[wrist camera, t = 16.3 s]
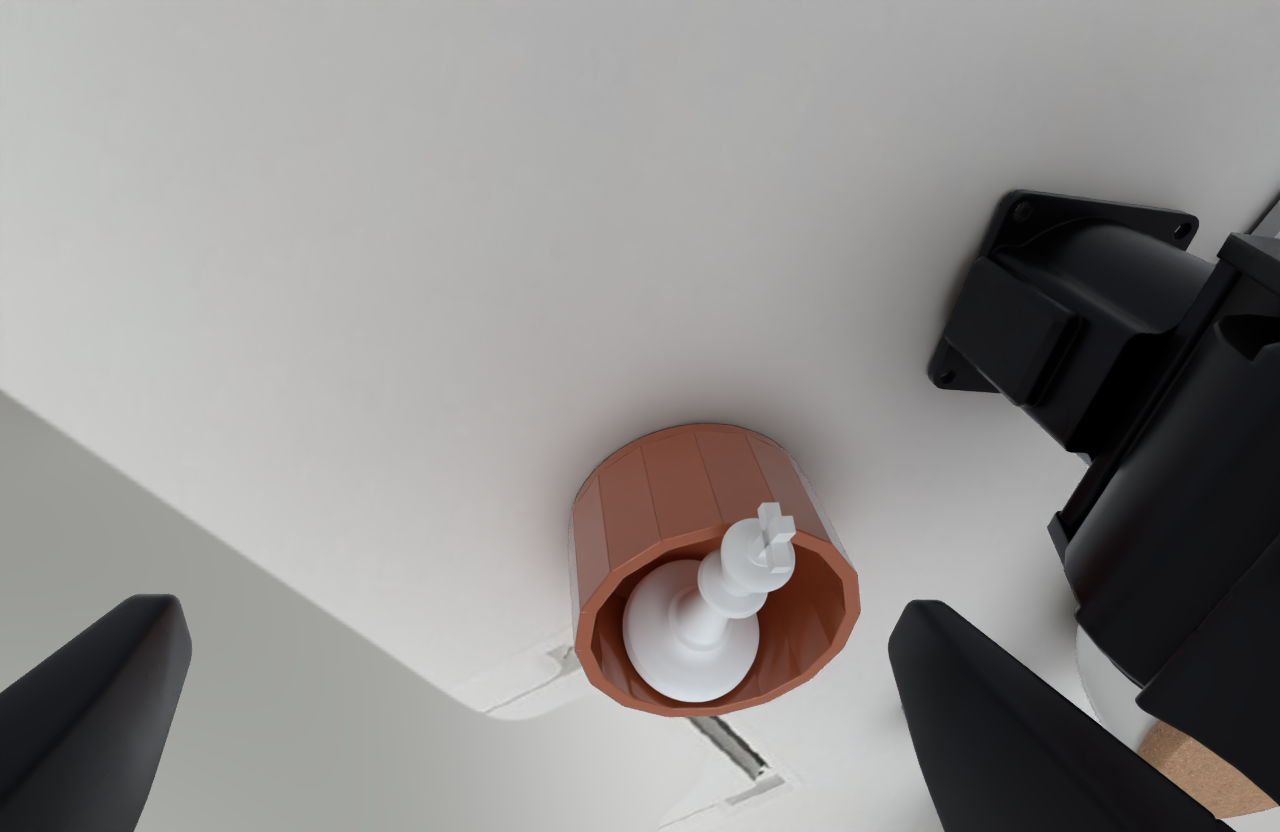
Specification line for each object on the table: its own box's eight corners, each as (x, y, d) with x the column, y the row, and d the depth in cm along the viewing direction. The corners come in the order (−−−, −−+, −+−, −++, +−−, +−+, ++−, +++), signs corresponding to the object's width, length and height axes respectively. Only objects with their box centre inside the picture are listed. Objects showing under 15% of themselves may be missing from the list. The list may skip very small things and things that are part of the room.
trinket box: (1205, 453, 27) (1470, 652, 20) (1300, 558, 32) (1543, 752, 24) (984, 612, 31) (1132, 829, 24) (1097, 684, 36) (1252, 886, 28)
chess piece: (628, 707, 23) (700, 634, 15) (617, 565, 26) (673, 433, 17) (767, 697, 24) (908, 623, 16) (743, 561, 27) (855, 434, 18)
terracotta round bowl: (838, 429, 24) (901, 528, 20) (773, 606, 29) (813, 714, 25) (582, 415, 23) (594, 519, 18) (558, 605, 27) (562, 720, 23)
